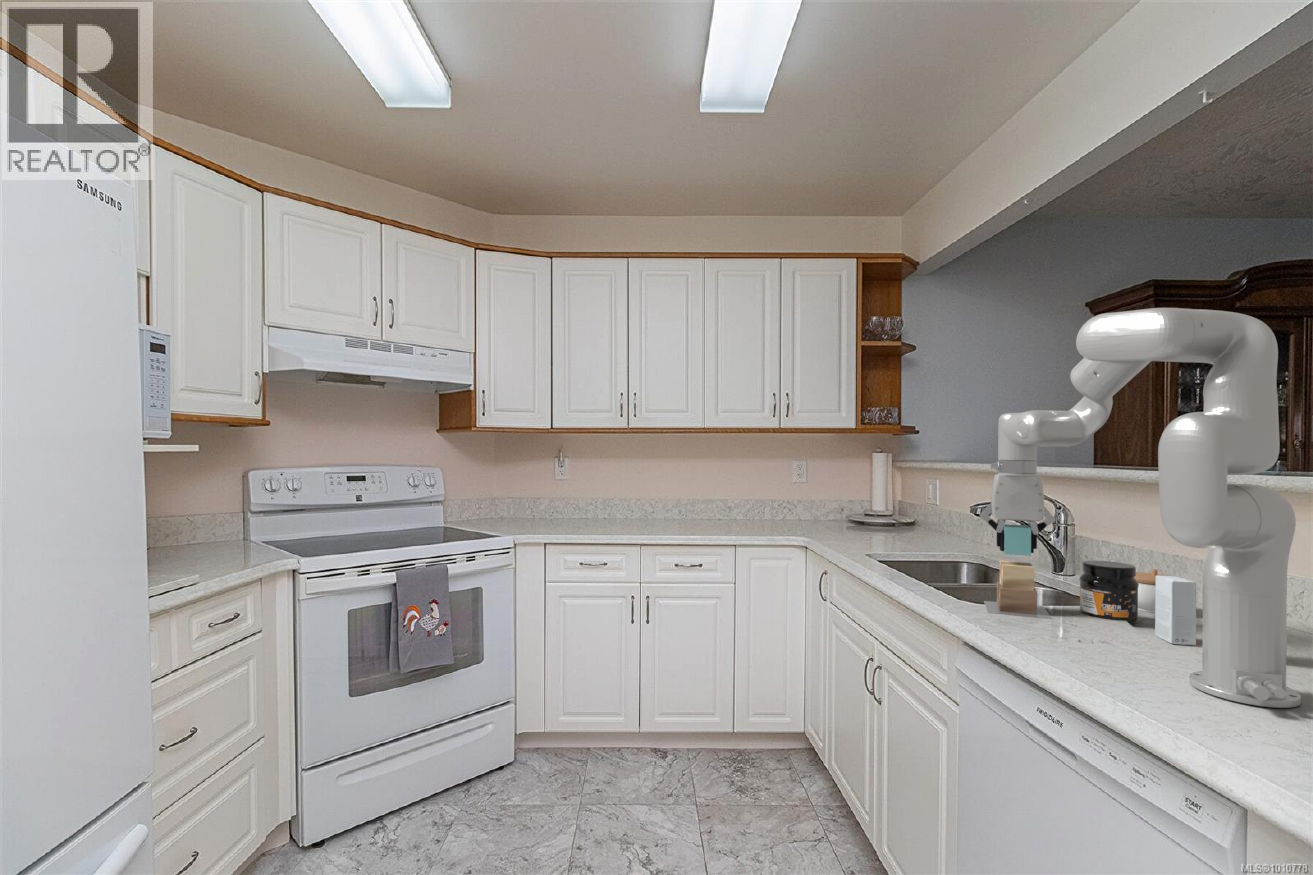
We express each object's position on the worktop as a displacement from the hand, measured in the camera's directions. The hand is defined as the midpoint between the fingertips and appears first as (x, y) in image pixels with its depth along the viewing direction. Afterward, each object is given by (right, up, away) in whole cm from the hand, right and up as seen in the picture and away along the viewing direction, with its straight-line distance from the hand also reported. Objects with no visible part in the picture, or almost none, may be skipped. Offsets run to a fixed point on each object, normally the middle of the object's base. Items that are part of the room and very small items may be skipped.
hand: (1016, 550), depth 145 cm
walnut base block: (0, -13, 0) cm, 13 cm away
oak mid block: (0, -8, 0) cm, 8 cm away
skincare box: (+21, -15, -18) cm, 31 cm away
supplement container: (+18, -15, -3) cm, 23 cm away
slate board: (0, -14, 0) cm, 14 cm away
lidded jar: (+34, -15, +5) cm, 38 cm away
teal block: (0, -1, 0) cm, 1 cm away
